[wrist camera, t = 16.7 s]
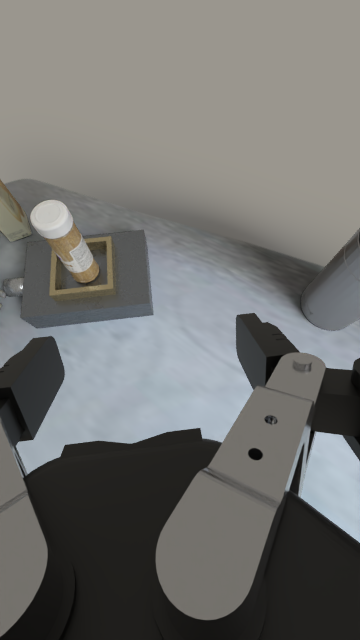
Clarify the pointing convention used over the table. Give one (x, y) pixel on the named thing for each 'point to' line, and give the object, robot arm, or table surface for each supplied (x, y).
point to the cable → (2, 294)
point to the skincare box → (12, 216)
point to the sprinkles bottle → (64, 239)
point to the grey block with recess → (85, 298)
